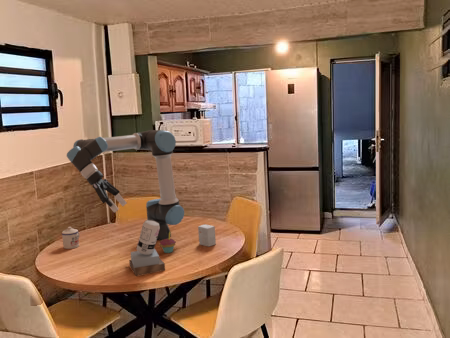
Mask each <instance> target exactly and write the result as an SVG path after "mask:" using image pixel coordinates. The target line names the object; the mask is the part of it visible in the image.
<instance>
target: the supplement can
mask: <svg viewBox="0 0 450 338" xmlns="http://www.w3.org/2000/svg"><path fill="white" fill-rule="evenodd" d="M159 229H160V226H159V223H158V222H155V221H152V220H147V219H146V220H144V222H143V223H142V226H141V229H140V233H139V238H138V241H137V246H136V251H138V252H139V253H141V254H145V255H150V254H152V253H153V251H154V249H156V248H155V247H156V243H157V241H156V240H157V237H158V233H159Z"/></svg>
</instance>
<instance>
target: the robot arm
mask: <svg viewBox="0 0 450 338" xmlns="http://www.w3.org/2000/svg"><path fill="white" fill-rule="evenodd" d="M176 144H177V141H176V137H175V135H174V134H173V133H172V132H171V131H168V130H164V129H158V130H157V129H156V130H154V129H150V130H146V131H140V132H134V133H132V134H127V135H119V136H110V137H102V136H97V137H96V138H90V139H89V138H88V139H77V140H75V142H74V143H73V147H72V148H71V149H70V150H68V151H67V153H66V157H67V159H68V160H69V161H70V163H71V164H72V165H73V166H74V167H75V168H76V170H77V171H79V173H80V174H81V176H82V177H83V178H84V179H86V181H87V182H88V184H89V185H90V186H92V188H93V189H94V190H95V193H96V194H97V196H98V197H99V199H100V201H101V202H102V204H106V205H107V206H108V207H109V208H110V209H111V211H112V212H113V213H116V212H117V211H119V207H118V206H117V205H116V203H114V201H113V200H112V199H111V198H109V195H108V193H110V194H111V195H112V196H114V199H116V201H117V202H118V203H119V204H120V205H121V206H122V207H124V206H125V205H127V204H128V203H127V201H126V199H124V197H123V196H122V195H121V194H120V190H119V189H117V188H116V187H115V186H114V185H113V184H111V183H110V182H109V181H108V180H107V179H106V178H104V179H103V177H104V174H103V173H102V172H101V171H100V170H98V167H97V165H95V164H94V162H93V161H92V160H94V159H96V158H97V157H99V156H100V155H101V154H103V153H106V152H115V151H123V150H124V151H125V150H131V149H134V150H136V151H137V150H145V151H151V155H152V157H153V158H155V164H156V172H157V180H158V188H159V195H160V198H155V199H150V200H148V201H146V206H145V209H146V220H152V221H155V222H158V223H159V226H160V229H159V233H158V237H157V240H156V242H157V241H162V240H163V239H168V238H169V232H170V238H171V237H172V233H171V229H170V227H169V226H170V225H171V226H177V225H179V224H180V223H182V220H183V219H184V216H185V210H184V207H183V206H181V205H180V201H179V200H180V199H179V198H177V196H176V189H175V180H174V172H173V165H172V155H173V154H174V151H173V150H174V149H175V147H176ZM107 192H108V193H107Z"/></svg>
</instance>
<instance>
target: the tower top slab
mask: <svg viewBox="0 0 450 338" xmlns="http://www.w3.org/2000/svg"><path fill="white" fill-rule="evenodd" d="M159 258H160V255H159V253H158V252H157V250H156V248H154V251H153V253H152V254H150V255H145V254H141V253H139V252H138V251H137V250H135V251H130V260H131V261H132V264H133V266H134V268H137V267H144V266H150V265H156V264H160V263H159Z"/></svg>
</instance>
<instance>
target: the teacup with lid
mask: <svg viewBox="0 0 450 338" xmlns="http://www.w3.org/2000/svg"><path fill="white" fill-rule="evenodd" d="M61 236H62V237H61V238H62V246H63V249H67V250H69V249H70V250H71V249H76V248H78V247H80V240H79V239H80V232H79V230H78V229H76V228H73V227H72V226H68V227H67V228H66V229H64V230H63V231H62V232H61Z"/></svg>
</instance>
